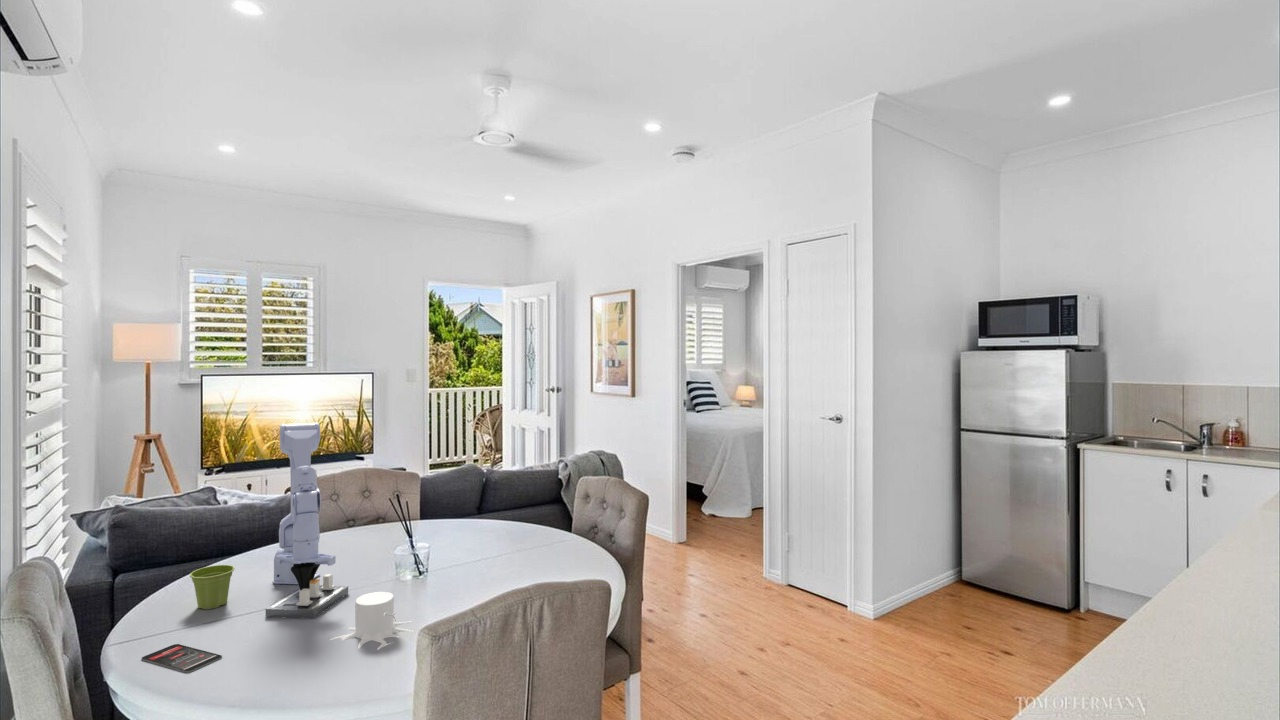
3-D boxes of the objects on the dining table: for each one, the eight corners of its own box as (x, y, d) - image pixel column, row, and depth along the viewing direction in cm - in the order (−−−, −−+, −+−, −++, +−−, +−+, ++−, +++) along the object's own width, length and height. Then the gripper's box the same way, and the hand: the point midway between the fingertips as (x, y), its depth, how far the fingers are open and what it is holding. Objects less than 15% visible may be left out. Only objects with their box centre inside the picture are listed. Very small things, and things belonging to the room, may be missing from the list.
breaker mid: (306, 597, 160) (306, 581, 160) (311, 593, 162) (311, 578, 162) (317, 597, 160) (317, 581, 160) (322, 594, 162) (322, 578, 162)
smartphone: (176, 643, 139) (223, 655, 133) (176, 646, 139) (223, 659, 133) (139, 658, 132) (188, 671, 127) (139, 661, 132) (188, 675, 127)
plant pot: (186, 615, 154) (186, 579, 154) (192, 601, 163) (192, 567, 163) (232, 608, 159) (232, 573, 159) (236, 595, 167) (236, 562, 167)
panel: (265, 617, 154) (265, 608, 154) (304, 592, 170) (304, 584, 170) (313, 618, 153) (313, 610, 153) (348, 593, 169) (348, 586, 169)
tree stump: (360, 661, 133) (360, 623, 133) (311, 637, 144) (311, 601, 144) (439, 628, 149) (440, 593, 149) (390, 608, 160) (390, 576, 160)
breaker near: (296, 605, 155) (296, 591, 155) (301, 601, 157) (301, 588, 157) (307, 605, 155) (307, 591, 155) (312, 602, 157) (312, 588, 157)
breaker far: (320, 589, 165) (320, 576, 165) (324, 586, 168) (325, 573, 167) (330, 590, 165) (330, 576, 165) (335, 586, 167) (335, 574, 167)
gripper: (268, 542, 158) (267, 597, 158) (324, 544, 157) (324, 599, 157) (285, 534, 165) (285, 586, 165) (340, 536, 164) (339, 588, 164)
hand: (305, 592), depth 161 cm, fingers closed
